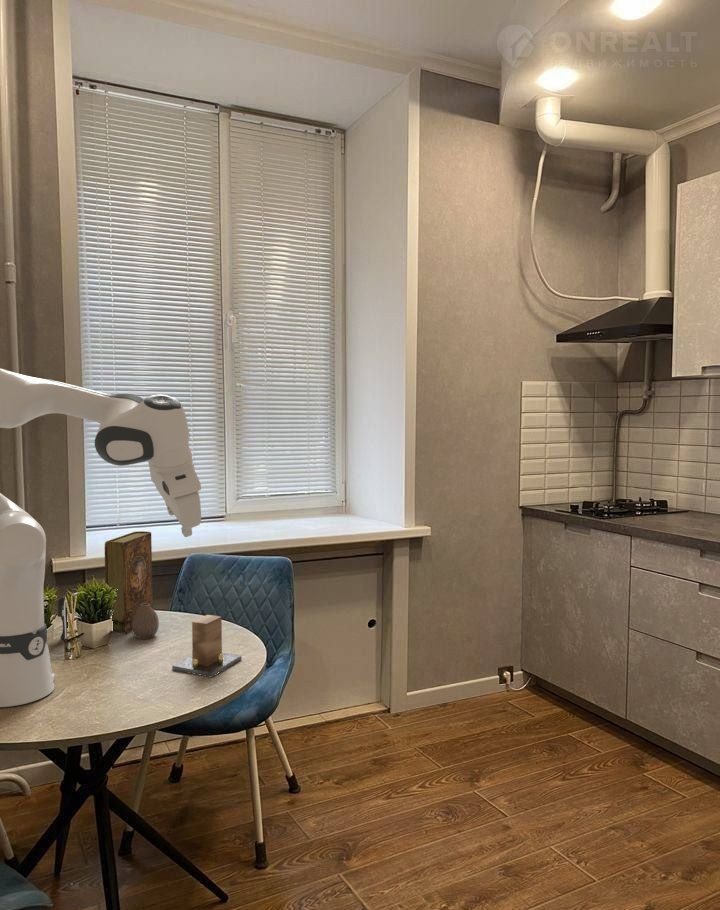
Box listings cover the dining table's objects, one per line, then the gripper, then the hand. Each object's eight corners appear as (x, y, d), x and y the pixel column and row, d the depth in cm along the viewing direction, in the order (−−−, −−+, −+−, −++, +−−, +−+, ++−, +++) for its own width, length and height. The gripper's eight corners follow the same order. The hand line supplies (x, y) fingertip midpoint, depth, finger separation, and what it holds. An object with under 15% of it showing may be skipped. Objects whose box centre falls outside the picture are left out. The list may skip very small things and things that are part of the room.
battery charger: (73, 631, 188) (72, 590, 187) (85, 633, 187) (84, 591, 186) (55, 640, 181) (54, 597, 180) (68, 641, 180) (67, 598, 179)
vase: (143, 642, 179) (142, 609, 179) (126, 637, 183) (125, 605, 182) (164, 635, 185) (164, 603, 184) (147, 630, 189) (146, 599, 188)
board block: (192, 663, 162) (192, 621, 161) (208, 655, 168) (207, 614, 167) (206, 666, 161) (206, 623, 160) (221, 657, 166) (221, 616, 165)
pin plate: (172, 669, 161) (172, 657, 161) (203, 653, 172) (203, 641, 172) (211, 677, 157) (211, 664, 156) (241, 659, 168) (241, 647, 167)
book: (137, 615, 202) (136, 531, 200) (154, 617, 201) (153, 531, 199) (106, 634, 186) (104, 541, 184) (124, 635, 185) (123, 542, 183)
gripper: (142, 452, 151) (151, 505, 158) (173, 496, 136) (181, 552, 143) (170, 445, 154) (178, 497, 161) (203, 487, 139) (210, 543, 146)
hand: (179, 523), depth 152 cm, fingers open, 8 cm apart
